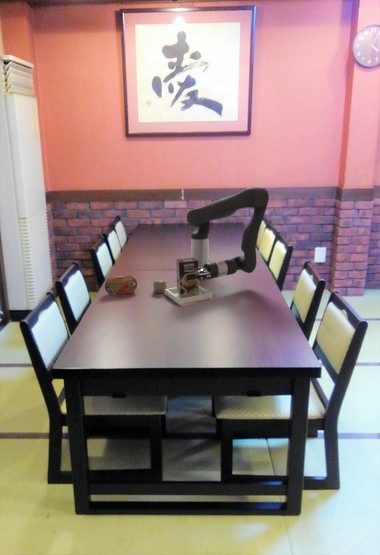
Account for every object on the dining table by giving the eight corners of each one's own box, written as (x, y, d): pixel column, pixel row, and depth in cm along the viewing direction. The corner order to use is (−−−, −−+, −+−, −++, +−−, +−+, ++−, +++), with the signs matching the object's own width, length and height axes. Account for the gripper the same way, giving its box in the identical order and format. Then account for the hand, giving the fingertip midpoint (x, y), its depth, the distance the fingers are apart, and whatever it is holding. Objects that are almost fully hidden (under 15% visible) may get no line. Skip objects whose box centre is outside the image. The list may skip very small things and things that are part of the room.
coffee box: (180, 297, 209) (178, 262, 204) (176, 293, 215) (175, 259, 210) (200, 294, 211) (198, 260, 206) (196, 290, 217) (194, 256, 212)
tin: (105, 296, 219) (104, 278, 217) (105, 294, 222) (103, 277, 219) (137, 292, 223) (136, 275, 220) (136, 290, 226) (135, 273, 223)
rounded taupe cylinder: (151, 291, 222) (150, 281, 221) (159, 289, 226) (159, 279, 225) (160, 293, 218) (160, 283, 217) (168, 291, 223) (168, 280, 222)
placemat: (165, 294, 218) (165, 293, 218) (193, 289, 224) (193, 288, 224) (181, 306, 203) (181, 305, 203) (212, 300, 209) (212, 299, 209)
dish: (164, 294, 217) (164, 289, 216) (195, 288, 224) (195, 283, 223) (179, 305, 203) (179, 299, 203) (211, 298, 210) (211, 293, 209)
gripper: (207, 258, 221) (176, 263, 215) (223, 265, 209) (189, 271, 202) (208, 273, 224) (176, 279, 217) (223, 281, 211) (190, 288, 204)
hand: (183, 275), depth 210 cm, fingers closed on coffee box, 7 cm apart
